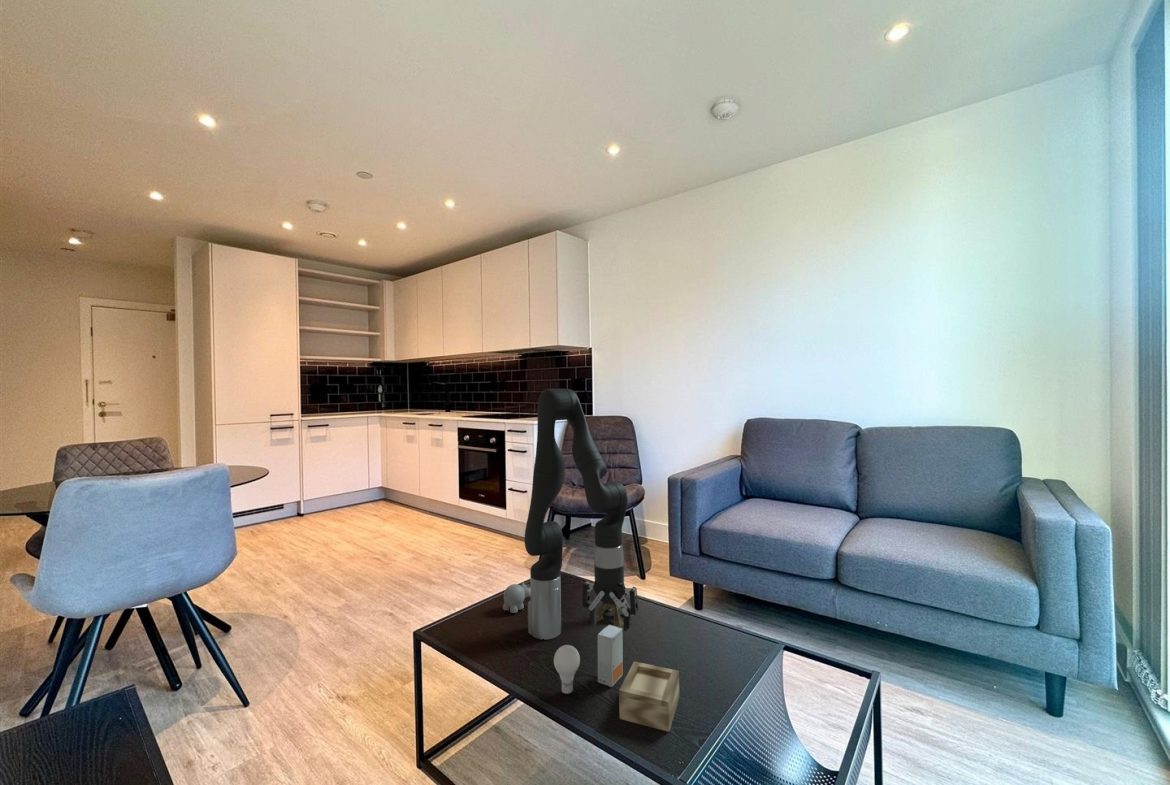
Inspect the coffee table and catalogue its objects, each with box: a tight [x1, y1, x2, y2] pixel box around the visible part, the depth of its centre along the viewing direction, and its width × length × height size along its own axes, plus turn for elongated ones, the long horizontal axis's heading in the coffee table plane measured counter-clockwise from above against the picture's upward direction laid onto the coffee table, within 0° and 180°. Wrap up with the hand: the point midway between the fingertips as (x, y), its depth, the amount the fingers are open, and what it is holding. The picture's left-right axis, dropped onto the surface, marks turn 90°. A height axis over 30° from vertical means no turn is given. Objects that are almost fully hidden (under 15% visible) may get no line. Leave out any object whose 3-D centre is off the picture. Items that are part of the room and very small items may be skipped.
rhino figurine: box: [502, 581, 531, 614], centre depth 155 cm, size 7×12×8 cm, turn 140°
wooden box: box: [618, 661, 680, 733], centre depth 103 cm, size 11×12×6 cm
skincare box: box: [597, 624, 624, 688], centre depth 114 cm, size 6×4×12 cm
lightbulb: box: [553, 644, 581, 695], centre depth 109 cm, size 6×6×11 cm
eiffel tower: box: [597, 602, 634, 628], centre depth 148 cm, size 11×11×25 cm
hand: (610, 626), depth 114 cm, fingers open, 8 cm apart
